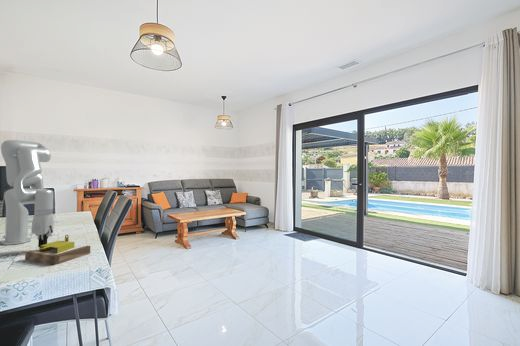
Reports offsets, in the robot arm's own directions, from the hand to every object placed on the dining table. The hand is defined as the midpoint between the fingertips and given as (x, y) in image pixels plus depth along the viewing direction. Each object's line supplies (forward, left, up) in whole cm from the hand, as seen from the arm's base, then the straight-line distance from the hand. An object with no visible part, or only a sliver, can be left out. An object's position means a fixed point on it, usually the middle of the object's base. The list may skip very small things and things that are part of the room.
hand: (42, 246), depth 134 cm
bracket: (+7, +1, -3) cm, 8 cm away
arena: (+18, -5, -2) cm, 19 cm away
